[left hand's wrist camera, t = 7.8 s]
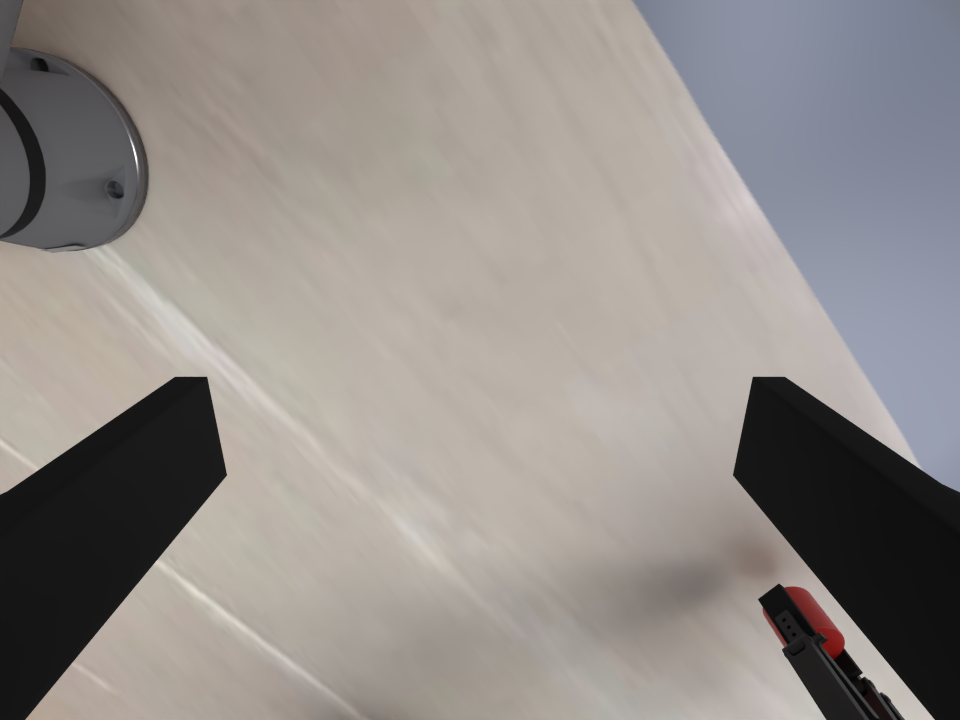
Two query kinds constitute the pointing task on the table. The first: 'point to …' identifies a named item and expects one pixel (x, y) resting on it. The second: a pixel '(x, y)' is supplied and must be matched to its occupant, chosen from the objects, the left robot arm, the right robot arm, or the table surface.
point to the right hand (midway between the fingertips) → (789, 607)
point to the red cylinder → (813, 621)
